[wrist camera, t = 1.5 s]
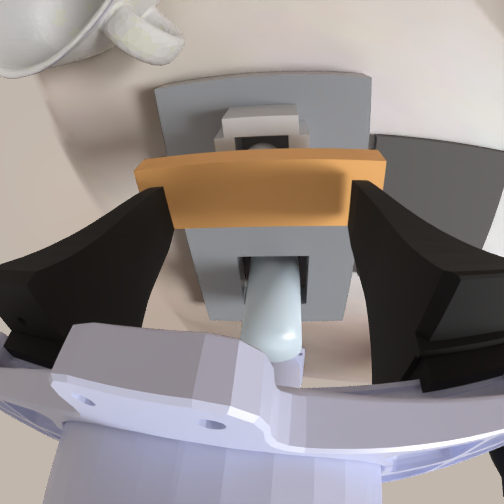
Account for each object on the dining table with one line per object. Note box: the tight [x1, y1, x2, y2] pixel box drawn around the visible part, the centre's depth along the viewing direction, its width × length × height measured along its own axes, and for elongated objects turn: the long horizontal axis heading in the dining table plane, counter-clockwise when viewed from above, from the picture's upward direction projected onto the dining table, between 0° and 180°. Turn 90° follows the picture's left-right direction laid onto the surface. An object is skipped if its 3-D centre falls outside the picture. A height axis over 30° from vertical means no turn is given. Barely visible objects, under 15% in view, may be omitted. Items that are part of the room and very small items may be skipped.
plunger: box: [134, 142, 387, 229], centre depth 13 cm, size 3×10×4 cm, turn 95°
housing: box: [154, 71, 372, 321], centre depth 20 cm, size 20×12×5 cm, turn 5°
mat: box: [357, 134, 504, 276], centre depth 20 cm, size 12×12×1 cm
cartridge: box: [240, 256, 302, 362], centre depth 22 cm, size 4×4×8 cm
